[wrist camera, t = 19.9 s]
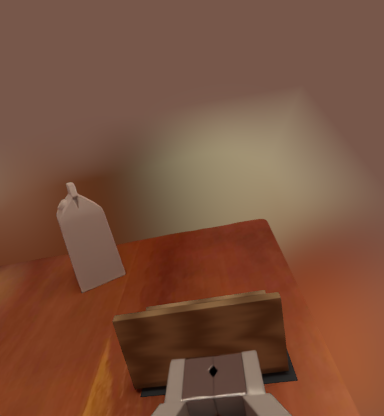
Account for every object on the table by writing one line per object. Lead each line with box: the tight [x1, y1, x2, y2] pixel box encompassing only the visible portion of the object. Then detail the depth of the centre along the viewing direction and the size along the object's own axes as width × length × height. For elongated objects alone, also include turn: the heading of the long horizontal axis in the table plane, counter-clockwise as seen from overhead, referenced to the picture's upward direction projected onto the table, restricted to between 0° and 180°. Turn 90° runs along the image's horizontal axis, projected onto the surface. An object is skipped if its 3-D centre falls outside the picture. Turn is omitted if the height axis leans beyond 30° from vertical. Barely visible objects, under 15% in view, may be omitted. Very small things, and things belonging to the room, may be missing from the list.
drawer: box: [112, 290, 289, 389], centre depth 45 cm, size 22×14×13 cm, turn 88°
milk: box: [56, 182, 126, 293], centre depth 75 cm, size 12×12×26 cm
